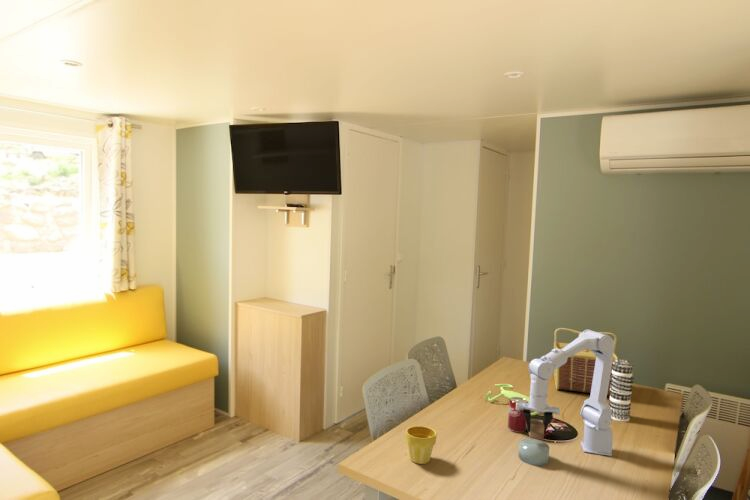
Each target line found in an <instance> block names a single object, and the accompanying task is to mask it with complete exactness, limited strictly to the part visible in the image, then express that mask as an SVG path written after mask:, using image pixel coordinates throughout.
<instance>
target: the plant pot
mask: <svg viewBox="0 0 750 500" xmlns="http://www.w3.org/2000/svg"><path fill="white" fill-rule="evenodd" d="M405 441H406V444H407V446H408V447H407V448H408V452H409V454H408V455H409V459H410V461H411V462H413V463H415V464H418V465H426V464H428V463H429V462H430V460H431V456H432V451H433V450H434V449H433V448H434V446H435V445H436V442H437V432H436V431H435V429H433V428H431V427H429V426H424V425H413V426H410V427H408V428H406V431H405Z"/></svg>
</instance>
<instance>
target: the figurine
mask: <svg viewBox="0 0 750 500" xmlns="http://www.w3.org/2000/svg"><path fill="white" fill-rule="evenodd" d="M494 387H500V393H499V394H497V395H495V396H493V397H492V394H493V391H491V390H489V391H488V392H487V394H486V395H485V398H484V402H487V401H489V402H493V401H496V400H497V399H499V398H501V397H505V398H506V399H509V400H510V398H512V397H521V398H524V399H526V400H527V401H528V403H529V402H530V395H529V396H527V395H525V394H524V393H523V394H522V393H520V392H517V391H512V390H514V386H513V385H512V384H509V383H498V384H496V383H495V384H494ZM505 389H509V390H505ZM537 414H539V412H535V411H533V412H531V416H536V415H537Z"/></svg>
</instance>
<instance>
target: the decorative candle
mask: <svg viewBox="0 0 750 500" xmlns="http://www.w3.org/2000/svg"><path fill="white" fill-rule="evenodd" d="M612 363H613V369H612V372H611V373H610V376H611V377H610V380H611V381H610V390H611V395H610V396H609V400H608V402H609V403H608V405H609V407H610V408H611V417H612V420H613V421H617V422H629V421H630V420H631V419H630V417H631V415H630V414H631V406H632V403H631V394H632V393H633V392H632V391H633V389H632V388H633V385H632V384H633V383H634V381H633V380H634V377H633V367H634V365H633V364H632V362H630V361H629V360H626V359H621V358H620V359H619V358H618V359H617V360H615V361H614V362H612Z"/></svg>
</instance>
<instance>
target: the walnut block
mask: <svg viewBox="0 0 750 500" xmlns="http://www.w3.org/2000/svg"><path fill="white" fill-rule="evenodd" d="M527 433H528V436H529V439H536V440H544V436H545V434H544V423H543V419H537V418H536V419H535V418H531V420H530V432H528V431H527Z"/></svg>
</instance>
